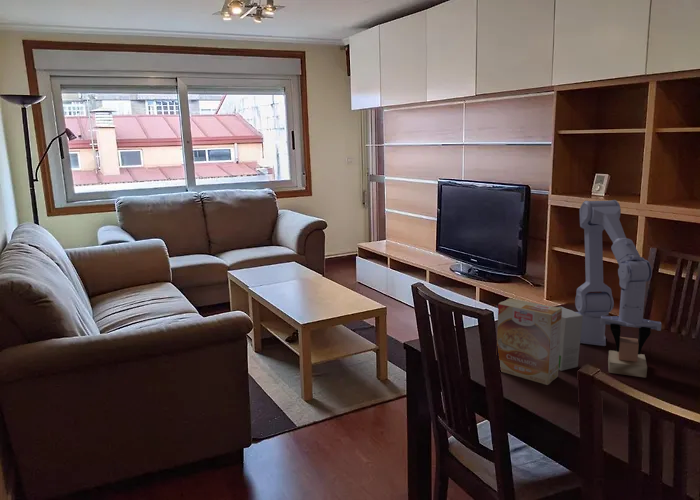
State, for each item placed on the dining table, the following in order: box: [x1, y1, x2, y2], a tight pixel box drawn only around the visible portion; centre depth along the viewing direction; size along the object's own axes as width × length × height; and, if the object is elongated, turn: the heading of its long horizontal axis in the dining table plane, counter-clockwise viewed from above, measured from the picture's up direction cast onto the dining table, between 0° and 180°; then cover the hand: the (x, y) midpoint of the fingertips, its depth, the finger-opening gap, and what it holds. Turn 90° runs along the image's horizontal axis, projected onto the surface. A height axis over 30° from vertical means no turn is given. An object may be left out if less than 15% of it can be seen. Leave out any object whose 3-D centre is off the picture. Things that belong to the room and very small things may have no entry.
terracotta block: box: [618, 336, 639, 362], centre depth 149 cm, size 4×4×5 cm
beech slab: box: [607, 349, 648, 378], centre depth 150 cm, size 9×9×3 cm
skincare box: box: [556, 306, 583, 372], centre depth 153 cm, size 8×7×16 cm
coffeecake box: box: [496, 297, 562, 386], centre depth 147 cm, size 15×7×20 cm, turn 47°
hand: (627, 351), depth 149 cm, fingers closed on terracotta block, 4 cm apart
